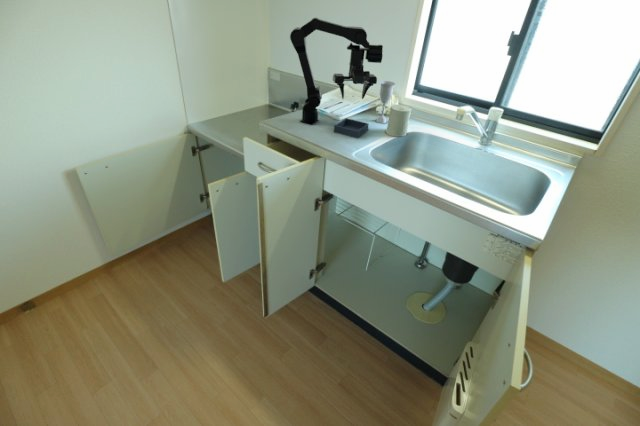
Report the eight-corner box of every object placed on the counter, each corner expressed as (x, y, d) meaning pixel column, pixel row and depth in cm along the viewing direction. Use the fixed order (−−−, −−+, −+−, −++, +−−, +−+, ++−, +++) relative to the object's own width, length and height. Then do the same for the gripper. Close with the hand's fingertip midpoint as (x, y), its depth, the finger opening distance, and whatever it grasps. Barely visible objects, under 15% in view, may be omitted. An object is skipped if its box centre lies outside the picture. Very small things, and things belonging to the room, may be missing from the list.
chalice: (389, 124, 157) (396, 85, 147) (375, 123, 157) (381, 84, 147) (387, 119, 163) (393, 81, 153) (373, 118, 163) (379, 80, 153)
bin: (333, 131, 146) (334, 125, 144) (345, 124, 154) (345, 118, 153) (357, 138, 142) (358, 131, 140) (367, 129, 150) (368, 123, 148)
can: (387, 136, 145) (392, 109, 138) (384, 128, 153) (388, 102, 146) (408, 137, 145) (414, 110, 138) (403, 129, 153) (409, 103, 146)
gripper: (338, 65, 131) (335, 104, 140) (383, 66, 134) (377, 104, 143) (333, 59, 140) (331, 96, 149) (375, 60, 143) (370, 96, 152)
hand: (352, 98), depth 148 cm, fingers open, 9 cm apart
